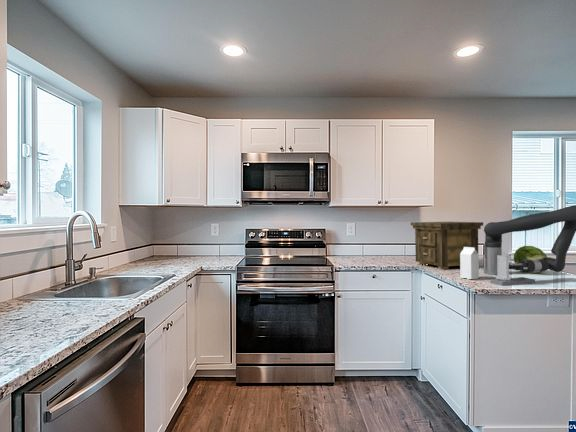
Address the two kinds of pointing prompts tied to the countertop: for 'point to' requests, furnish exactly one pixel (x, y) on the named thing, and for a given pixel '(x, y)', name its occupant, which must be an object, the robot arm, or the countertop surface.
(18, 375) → the countertop surface
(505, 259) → the fader tab
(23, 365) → the countertop surface
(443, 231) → the wooden drawer cabinet
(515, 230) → the robot arm
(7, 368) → the countertop surface
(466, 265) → the milk carton
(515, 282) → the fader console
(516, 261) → the lettuce
